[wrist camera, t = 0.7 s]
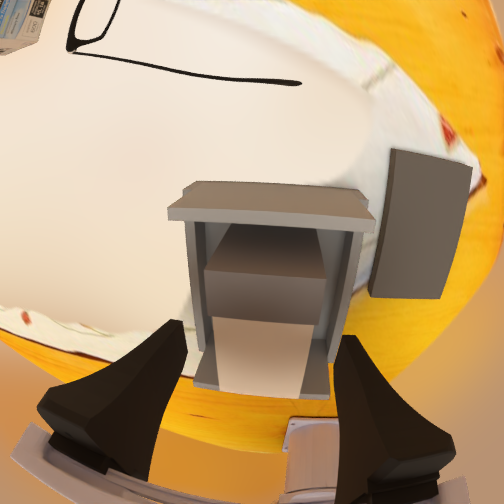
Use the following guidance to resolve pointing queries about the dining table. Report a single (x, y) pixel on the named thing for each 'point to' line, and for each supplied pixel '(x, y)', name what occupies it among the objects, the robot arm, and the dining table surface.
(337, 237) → the grey open tray
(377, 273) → the rubber mat
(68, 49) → the eyeglasses
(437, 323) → the dining table surface
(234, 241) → the box
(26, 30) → the light bulb box
